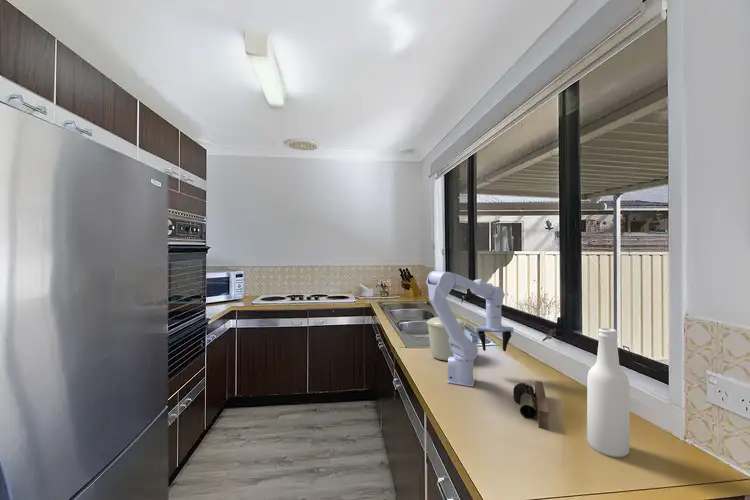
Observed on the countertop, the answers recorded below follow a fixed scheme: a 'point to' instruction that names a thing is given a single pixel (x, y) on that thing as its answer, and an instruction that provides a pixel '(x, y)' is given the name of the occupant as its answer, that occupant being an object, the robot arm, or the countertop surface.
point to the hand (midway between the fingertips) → (494, 350)
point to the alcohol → (608, 399)
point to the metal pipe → (525, 400)
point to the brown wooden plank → (541, 406)
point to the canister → (440, 338)
